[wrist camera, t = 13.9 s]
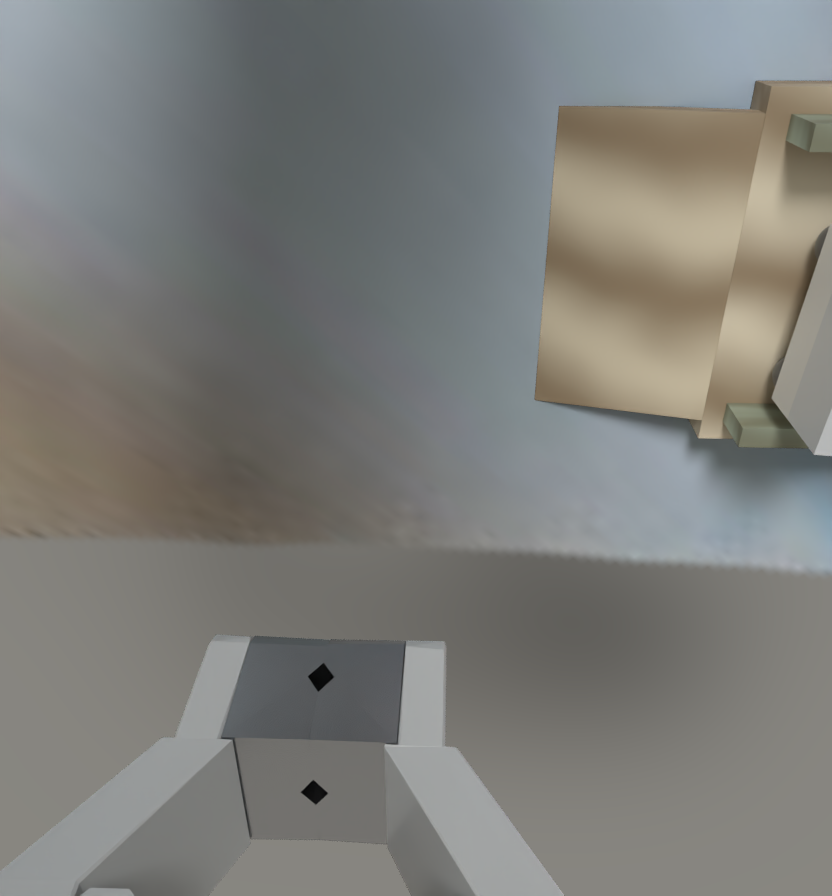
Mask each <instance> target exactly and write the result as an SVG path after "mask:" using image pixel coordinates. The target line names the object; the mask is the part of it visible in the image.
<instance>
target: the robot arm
mask: <svg viewBox="0 0 832 896" xmlns="http://www.w3.org/2000/svg"><path fill="white" fill-rule="evenodd" d="M445 710H446V644H445V642H444V641H407V642H406V641H389V640H388V641H387V640H337V639H331V640H323V639H304V638H303V639H302V638H286V637H285V638H284V637H267V636H254V637H250V636H232V635H215V637H214V638H213V639H212V640H211V641H210V643H209V644H208V647H207V650H206V652H205V655H204V658H203V660H202V663H201V666H200V669H199V671H198V674H197V677H196V679H195V682H194V685H193V687H192V690H191V693H190V695H189V698H188V701H187V703H186V706H185V709H184V712H183V714H182V717H181V720H180V722H179V725H178V728H177V731H176V733H175V736H174V737H162V738H161V739H159V740H158V741H157V742H156V743H155V744H153V745H152V746H151V747H150V748H149V749H147V750H146V751H145V752H144V753H142V754H141V755H140V756H139V757H138V758H137V759H135V760H134V761H133V762H132V763H130V764H129V765H128V766H127V767H126V768H124V769H123V770H122V771H121V772H120V773H118V774H117V775H116V776H115V777H114V778H112V779H111V780H110V781H109V782H107V783H106V784H105V785H104V786H103V787H101V788H100V789H99V790H98V791H97V792H95V793H94V794H93V795H92V796H91V797H89V798H88V799H87V800H86V801H84V803H82V804H81V805H80V806H78V807H77V808H76V809H75V810H74V811H72V812H71V813H70V814H69V815H68V816H66V817H65V818H64V819H63V820H62V821H60V822H59V823H58V824H57V825H55V827H53V828H52V829H51V830H49V831H48V832H47V833H46V834H45V835H43V837H41V838H40V839H39V840H37V841H36V842H35V843H34V844H33V845H31V846H30V847H29V848H28V849H27V850H25V851H24V852H23V853H22V854H20V856H18V857H17V858H16V859H14V861H12V862H11V863H10V864H8V865H7V866H6V867H5V868H4V869H2V870H1V871H0V896H209V895H210V893H211V892H212V891H213V890H214V888H215V887H216V886H217V884H218V883H219V882H220V881H221V880H222V878H223V877H224V876H225V875H226V874H227V872H228V871H229V870H230V868H231V867H232V866H233V865H234V864H235V862H236V861H237V860H238V858H240V856H241V855H242V854H243V853H244V851H245V850H246V849H247V848H248V846H249V845H250V839H289V840H297V839H298V840H329V841H345V842H359V843H375V844H388V849H389V852H390V853H391V856H392V858H393V859H394V862H395V864H396V865H397V868H398V870H399V872H400V874H401V876H402V878H403V880H404V882H405V884H406V886H407V888H408V890H409V892H410V894H411V896H565V895H564V894H563V893H562V891H561V890H560V889H559V888H558V886H557V884H556V883H555V882H554V880H553V879H552V878H551V876H550V875H549V873H548V872H547V871H546V869H545V868H544V866H543V865H542V864H541V862H540V861H539V860H538V858H537V857H536V855H535V854H534V853H533V851H532V850H531V849H530V847H529V846H528V844H527V843H526V842H525V840H524V839H523V837H522V836H521V835H520V833H519V832H518V831H517V829H516V828H515V827H514V825H513V824H512V822H511V821H510V820H509V818H508V817H507V815H506V814H505V813H504V811H503V810H502V808H501V807H500V806H499V804H498V803H497V802H496V800H495V799H494V798H493V796H492V795H491V793H490V792H489V791H488V789H487V788H486V786H485V785H484V784H483V782H482V781H481V780H480V778H479V777H478V775H477V774H476V773H475V771H474V770H473V768H472V767H471V766H470V764H469V763H468V762H467V760H466V759H465V758H464V756H463V755H462V753H461V752H460V751H459V749H458V748H457V747H445V722H446V721H445V719H446V717H445V716H446V715H445V714H446V711H445Z"/></svg>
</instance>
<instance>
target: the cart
mask: <svg viewBox="0 0 832 896" xmlns="http://www.w3.org/2000/svg"><path fill="white" fill-rule="evenodd" d="M814 251H815V256H816V258H817V260H818V262H817V265H816V268H815V271H814V274H813V276H812V279H811V282H810V285H809V288H808V291H807V294H806V297H805V300H804V303H803V306H802V309H801V312H800V315H799V318H798V321H797V324H796V327H795V330H794V333H793V336H792V339H791V342H790V344H789V347H788V350H787V353H786V356H785V357H783V358H782V359H780V360H779V361H778V362H777V363H776V365H775V367H774V369H773V372H772V381H773V384H774V386H775V389H774V392H773V395H772V400H773V401H774V402H775V404H776V405H777V406H778V408H779V409H780V410H781V412H782V413H783V414H784V416H785V417H786V418H787V420H788V421H789V422H790V424H791V425H792V426H793V428H794V429H795V430H796V432H797V433H798V434H799V436H800V437H801V438H802V440H803V441H804V442H805V444H806V445H807V446H808V448H809V449H810V450H811V452H812V453H813V454H814V455H824V456H832V224H830V226H828V227H827V228H825V229H824V230H823V231H822V232H821V233H820V234H819V236H818V238H817V240H816V242H815V247H814Z"/></svg>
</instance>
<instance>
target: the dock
mask: <svg viewBox="0 0 832 896" xmlns="http://www.w3.org/2000/svg"><path fill="white" fill-rule="evenodd" d="M830 224H832V81H756V83H755V88H754V93H753V98H752V103H751V108H750V110H748V109H719V108H690V107H662V106H559V114H558V126H557V138H556V150H555V162H554V174H553V186H552V198H551V210H550V222H549V234H548V246H547V258H546V270H545V282H544V294H543V306H542V318H541V330H540V342H539V354H538V366H537V378H536V390H535V400H540V401H548V402H556V403H564V404H572V405H581V406H589V407H597V408H605V409H613V410H621V411H630V412H638V413H646V414H654V415H662V416H670V417H679V418H687V419H689V422H690V423H691V425H692V427H693V429H694V431H695V433H696V435H697V437H698V438H709V439H734V441H735V442H736V444H737V446H738V447H758V448H808V446H807V445H806V444H805V442H804V441H803V440H802V438H801V437H800V436H799V434H798V433H797V432H796V430H795V429H794V428H793V426H792V425H791V424H790V422H789V421H788V420H787V418H786V417H785V416H784V414H783V413H782V412H781V410H780V409H779V408H778V406H777V405H776V404H775V402H774V401H773V400H772V395H773V392H774V389H775V386H774V384H773V381H772V372H773V369H774V367H775V365H776V363H777V362H778V361H779V360H780V359H782V358H783V357H785V356H786V353H787V350H788V347H789V344H790V342H791V339H792V336H793V333H794V330H795V327H796V324H797V321H798V318H799V315H800V312H801V309H802V306H803V303H804V300H805V297H806V294H807V291H808V288H809V285H810V282H811V279H812V276H813V274H814V271H815V268H816V265H817V262H818V260H817V258H816V256H815V251H814V247H815V242H816V240H817V238H818V236H819V234H820V233H821V232H822V231H823V230H824V229H825V228H827V227H828V226H830Z"/></svg>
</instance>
